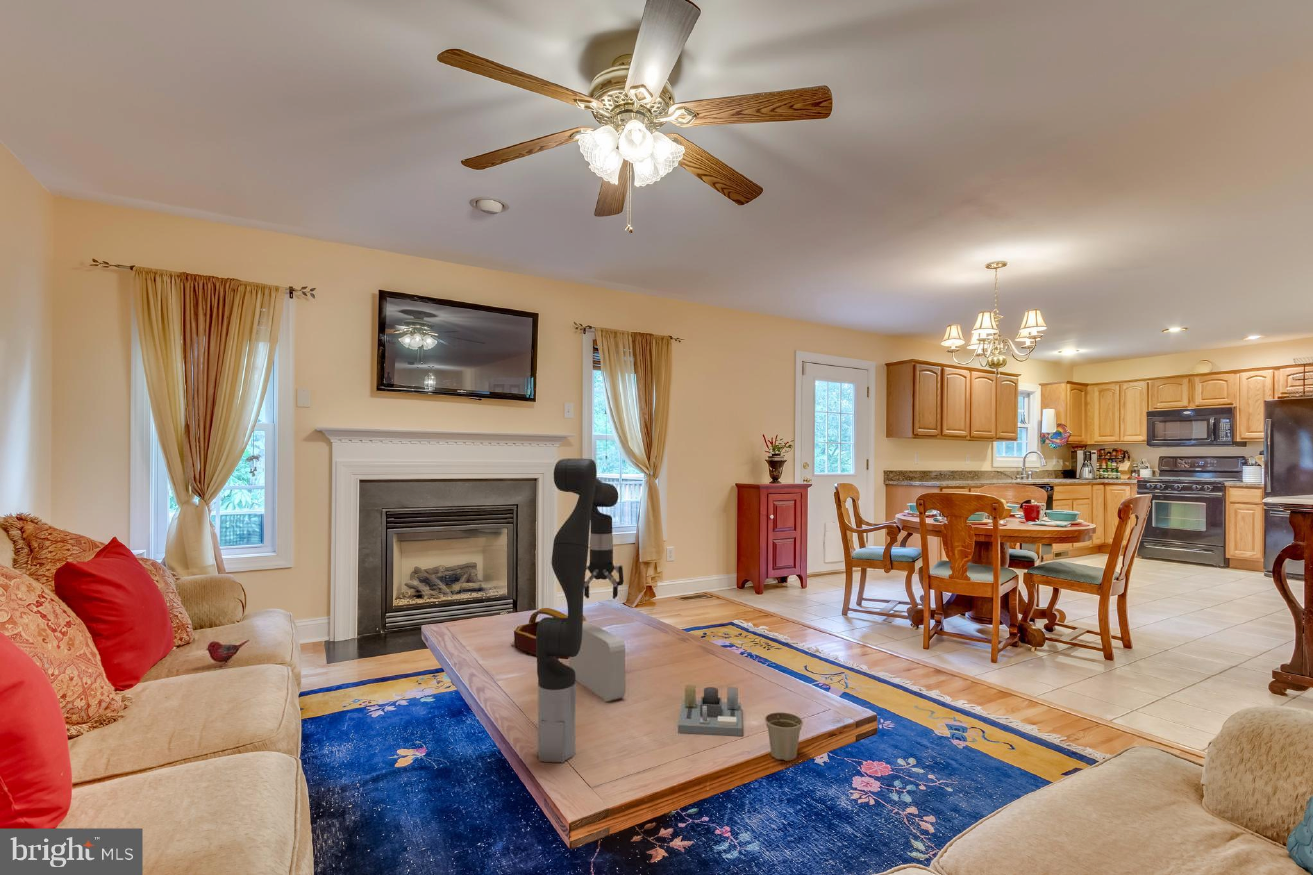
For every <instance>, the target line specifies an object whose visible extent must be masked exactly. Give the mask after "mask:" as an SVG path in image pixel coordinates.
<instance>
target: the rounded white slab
mask: <svg viewBox="0 0 1313 875" xmlns="http://www.w3.org/2000/svg"><path fill="white" fill-rule="evenodd" d="M568 666H569V667H571V668H572V669H573V670H574V671H575V675H576V681H577V682H578V683H579V684H581V685H582V686H584V687H585V688H586V689H588V690H589V691H590V692H592V693H593V694H594V695H596V696H597V697H599V698H601V699H602V700H603V701H605V702H611V701H615V700H620V699H623V698H624V697H625V695H626V645H625V642H624V640H623V639H622V638H621V637H619V636H618V635H615V634H613V633H611V632H609V631H608V630H605V629H603V628H601V627H599V626H597V625H595V624H593V623H591V622H588V621H587V620H586V621H584V622H583V629H582V642H581V647H580V651H579V653H578V654H577V656H575V657H569V659H568Z"/></svg>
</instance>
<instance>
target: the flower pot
mask: <svg viewBox="0 0 1313 875" xmlns="http://www.w3.org/2000/svg"><path fill="white" fill-rule="evenodd" d="M763 719H764V722H765V725H766V728H767V732H768V739H769V740H768V741H769V747H770V755H771V756H772V757H773V758H774V759H776V760H780V761H781V760H784V761H788V762H789V761H793V760H795V759H797V755H798V749H799V740H800V739H799V738H800V732H801V730H802V726H803V725H804V720H803V719H802V717H800V716H798V715H797V714H793V713H790V712H785V711H783V712H781V711H776V712H770V713H768V714H766V715H765V716H764V718H763Z"/></svg>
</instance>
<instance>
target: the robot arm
mask: <svg viewBox="0 0 1313 875" xmlns="http://www.w3.org/2000/svg"><path fill="white" fill-rule="evenodd" d="M597 469H598V468H597V464H596V462H595V460H593V459H592V458H562V459H559V460H558V461H557V462H556V463H555V465H554V468H553V482H554V484H555V487H556V489H557V490H558V491H561V492H563V493H573V494H576V495H578V498H577V502H576V504H575V506H574V508H573V510H572V512H571V514H570V515H569V516H568V518H567V519H566V520H565V521H564V522H563V524H562V526H561V527H560V528H559V529H558V531H557V533H556V534H555V536H554V539H553V545H552V553H551V554H552V555H551V567H552V570H553V571H552V572H553V573H554V575H555V578H556V579H557V582H558V584H560V587H561V589H562V591H563V594H564V597H565V599H566V604H567V606H566V607H567V616H568V618H555V617H552V616H549V617H543V618H542V619H540V620H539V621H540V622H539V624H538V627H537V632H536V652H537V655H536V671H537V672H536V674H537V686H538V687H537V689H538V692H537V693H538V694H537V756H538V761H539V762H550V763H565V761H566V760H570V758H572V757H574V755H575V754H576V692H577V691H576V675H575V671H574V670H573V669H572V668H571V667H569V665H567V664H565V663H563V662H562V661H560V660H559V659H557V658H556V657H555V656H558V657H575V656H577V654H578V653H579V651H580V647H581V642H582V629H583V616H584V597H585V598H586V599H589V598H590V584H591V582H592V581H593V580H594V579H595V581H597V580H608V581H609V582H610V583H611V584H612V586H613V587H612V599H613V600H616V598H617V597H618V595H619V594H618V593H619V586H623V585H624V579H625V578H624V567H623V566H624V565H623V564H620V565H614V537H613V517H612V516H611V515H610V514H606V513H602V512H600V510H599V508H612V507H614V506H615V505H616V504H617V503H618V500H619V492H618V489H617V487H616V486H615V485H613V484H611V483H608V482H602V481H601V480H600V479H599V478H597V474H598V470H597ZM588 556H589V558H588ZM588 559H589V564H588ZM587 564H588V565H587ZM587 570H588V572H589V573H590V576H589V577H588V579H587V580H586V574H587V573H586V572H587ZM614 571H615V572H616V574H618V580H617V579H616V578H615V576H614V575H613V574H612V573H614Z"/></svg>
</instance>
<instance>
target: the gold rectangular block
mask: <svg viewBox="0 0 1313 875" xmlns="http://www.w3.org/2000/svg"><path fill="white" fill-rule="evenodd" d="M684 700H685V707H696V700H697V685H696V684H695V685H694V684H693V685H692V684H685V687H684Z"/></svg>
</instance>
